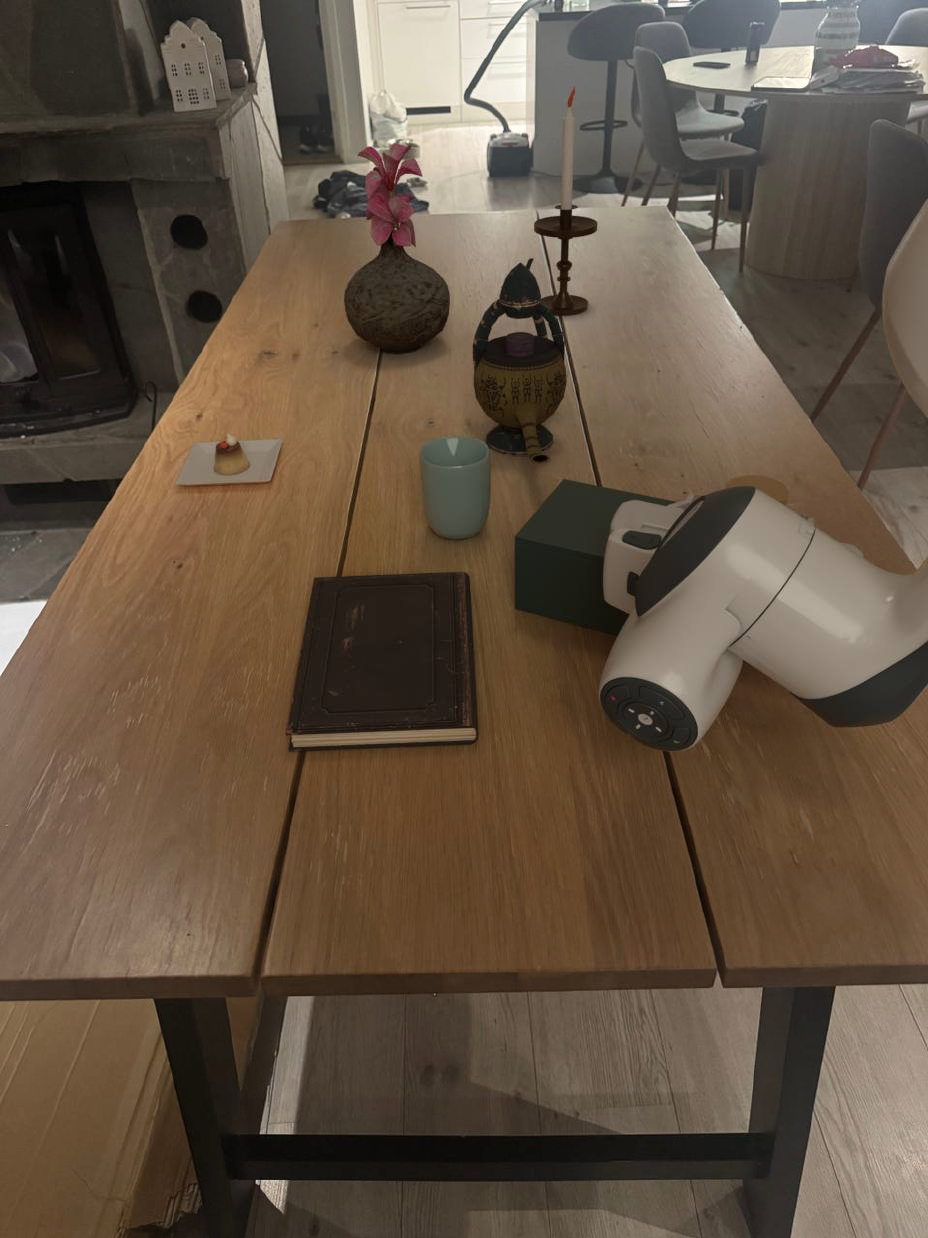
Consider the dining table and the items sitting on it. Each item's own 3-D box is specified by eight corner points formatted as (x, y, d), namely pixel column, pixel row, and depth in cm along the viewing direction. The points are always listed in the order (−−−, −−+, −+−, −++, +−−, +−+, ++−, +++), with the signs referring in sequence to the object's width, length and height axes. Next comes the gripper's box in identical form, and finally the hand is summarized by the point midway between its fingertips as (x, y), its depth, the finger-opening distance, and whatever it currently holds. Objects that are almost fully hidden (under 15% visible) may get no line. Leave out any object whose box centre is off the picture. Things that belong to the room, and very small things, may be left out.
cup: (492, 547, 103) (490, 466, 97) (422, 549, 103) (416, 468, 97) (491, 512, 109) (490, 434, 103) (425, 513, 109) (420, 435, 103)
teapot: (551, 410, 132) (556, 239, 118) (589, 494, 112) (600, 300, 98) (467, 416, 131) (462, 245, 117) (490, 502, 111) (487, 308, 97)
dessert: (175, 492, 116) (167, 457, 113) (195, 449, 125) (188, 416, 122) (271, 488, 116) (265, 453, 113) (284, 445, 125) (279, 412, 122)
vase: (367, 372, 145) (347, 163, 128) (336, 337, 159) (313, 143, 141) (466, 354, 150) (459, 150, 133) (427, 321, 163) (417, 132, 146)
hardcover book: (289, 752, 78) (285, 732, 77) (316, 595, 96) (314, 577, 95) (478, 744, 78) (478, 724, 77) (470, 589, 96) (469, 570, 95)
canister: (770, 600, 90) (794, 481, 82) (758, 631, 86) (782, 509, 78) (714, 587, 92) (733, 470, 84) (700, 617, 88) (719, 497, 80)
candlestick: (604, 304, 168) (617, 83, 147) (571, 321, 161) (580, 92, 141) (555, 294, 174) (561, 79, 153) (520, 310, 167) (522, 87, 146)
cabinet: (700, 580, 97) (711, 508, 91) (664, 648, 88) (674, 573, 82) (561, 547, 102) (563, 478, 97) (514, 608, 94) (514, 536, 88)
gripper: (857, 592, 66) (883, 504, 76) (589, 531, 74) (643, 459, 84) (839, 660, 70) (865, 568, 80) (585, 596, 78) (638, 519, 88)
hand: (750, 512), depth 82 cm, fingers open, 8 cm apart
